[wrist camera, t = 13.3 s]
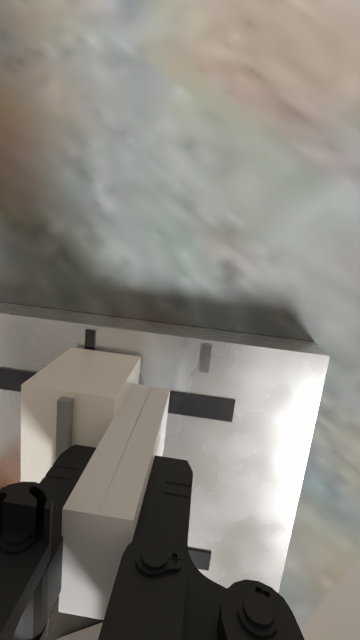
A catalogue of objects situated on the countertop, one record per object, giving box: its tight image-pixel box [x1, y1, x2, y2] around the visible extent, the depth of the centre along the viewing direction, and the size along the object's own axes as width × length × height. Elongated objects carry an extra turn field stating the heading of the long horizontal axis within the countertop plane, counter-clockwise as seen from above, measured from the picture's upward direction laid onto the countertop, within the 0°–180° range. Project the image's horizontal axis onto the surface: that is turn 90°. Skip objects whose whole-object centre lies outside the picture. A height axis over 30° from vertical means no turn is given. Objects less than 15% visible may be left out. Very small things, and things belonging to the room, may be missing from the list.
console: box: [0, 302, 330, 593], centre depth 17 cm, size 22×14×2 cm, turn 84°
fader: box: [21, 347, 141, 483], centre depth 13 cm, size 3×4×4 cm
